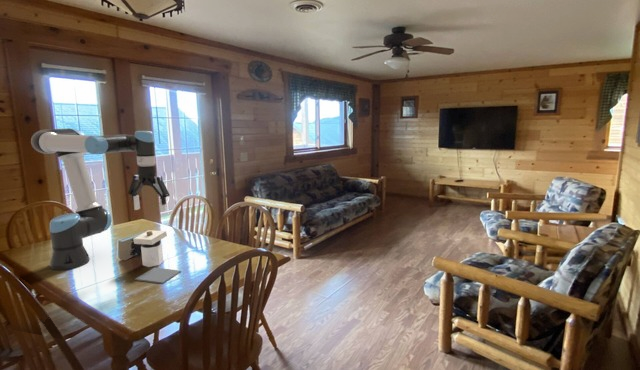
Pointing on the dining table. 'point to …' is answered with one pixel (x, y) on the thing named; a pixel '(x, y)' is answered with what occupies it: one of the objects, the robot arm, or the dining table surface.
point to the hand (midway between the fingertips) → (149, 210)
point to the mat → (158, 275)
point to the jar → (152, 254)
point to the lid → (150, 237)
